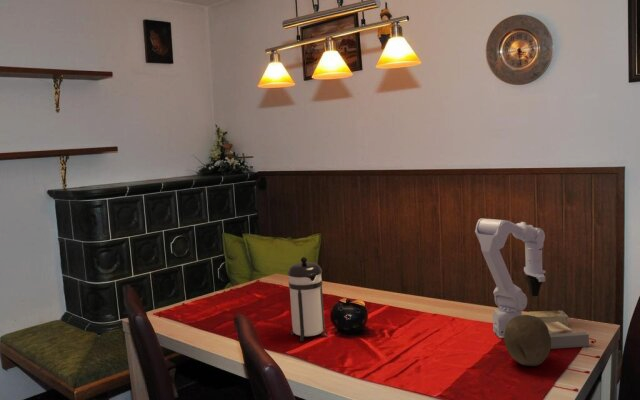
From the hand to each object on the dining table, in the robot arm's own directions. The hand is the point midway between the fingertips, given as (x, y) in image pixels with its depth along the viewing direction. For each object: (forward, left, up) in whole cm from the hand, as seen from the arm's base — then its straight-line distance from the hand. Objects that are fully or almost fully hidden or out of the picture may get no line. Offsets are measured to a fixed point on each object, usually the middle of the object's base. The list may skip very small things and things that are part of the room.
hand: (534, 295), depth 203 cm
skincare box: (+10, -3, -8) cm, 13 cm away
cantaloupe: (-16, -34, -11) cm, 39 cm away
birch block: (0, -17, -11) cm, 20 cm away
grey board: (-2, -23, -10) cm, 25 cm away
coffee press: (-85, +4, -11) cm, 86 cm away
